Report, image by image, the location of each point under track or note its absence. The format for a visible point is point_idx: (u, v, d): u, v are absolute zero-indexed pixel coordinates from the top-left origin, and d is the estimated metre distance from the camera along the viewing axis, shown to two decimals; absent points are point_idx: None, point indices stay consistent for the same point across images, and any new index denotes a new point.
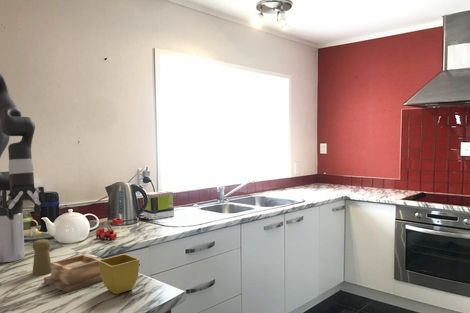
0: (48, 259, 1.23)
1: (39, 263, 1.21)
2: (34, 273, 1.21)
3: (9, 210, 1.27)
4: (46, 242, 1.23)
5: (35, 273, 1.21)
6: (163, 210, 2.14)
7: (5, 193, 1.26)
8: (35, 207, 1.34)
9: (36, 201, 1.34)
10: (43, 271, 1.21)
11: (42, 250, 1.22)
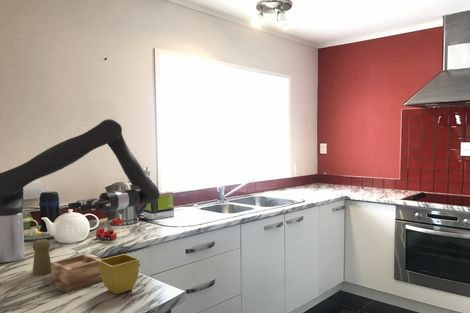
0: (48, 259, 1.23)
1: (39, 263, 1.21)
2: (34, 273, 1.21)
3: (90, 208, 1.32)
4: (46, 242, 1.23)
5: (35, 273, 1.21)
6: (163, 210, 2.14)
7: None
8: (77, 205, 1.37)
9: None
10: (43, 271, 1.21)
11: (42, 250, 1.22)
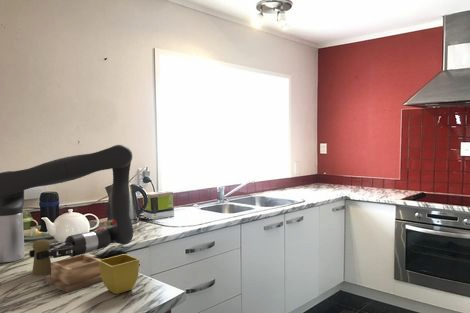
0: (48, 259, 1.23)
1: (39, 263, 1.21)
2: (34, 273, 1.21)
3: None
4: (46, 242, 1.23)
5: (35, 273, 1.21)
6: (163, 210, 2.14)
7: None
8: None
9: None
10: (43, 271, 1.21)
11: (42, 250, 1.22)
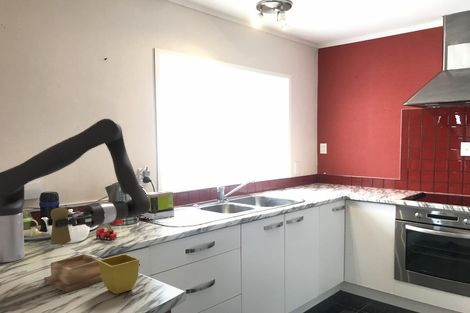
0: (67, 228, 1.19)
1: (58, 231, 1.17)
2: (53, 242, 1.17)
3: None
4: (64, 210, 1.18)
5: (54, 242, 1.17)
6: (163, 210, 2.14)
7: None
8: None
9: None
10: (62, 239, 1.17)
11: None
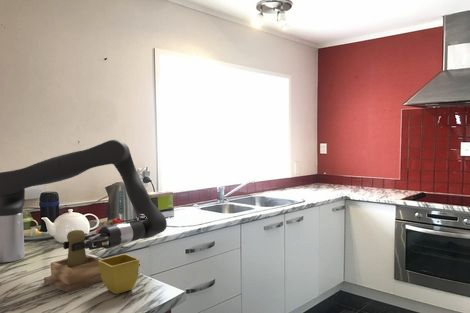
0: (83, 251, 1.15)
1: (75, 255, 1.13)
2: (69, 266, 1.13)
3: None
4: (81, 233, 1.15)
5: (70, 266, 1.13)
6: (163, 210, 2.14)
7: None
8: None
9: None
10: (78, 264, 1.13)
11: (77, 242, 1.14)
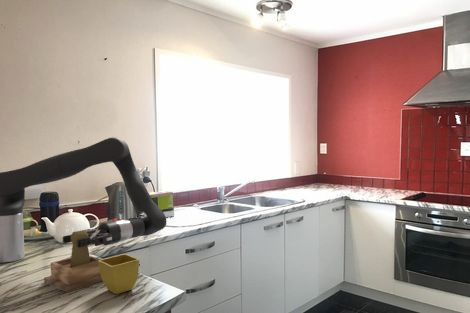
0: (87, 252, 1.15)
1: (78, 256, 1.13)
2: None
3: None
4: (85, 234, 1.14)
5: None
6: (163, 210, 2.14)
7: None
8: None
9: None
10: None
11: None
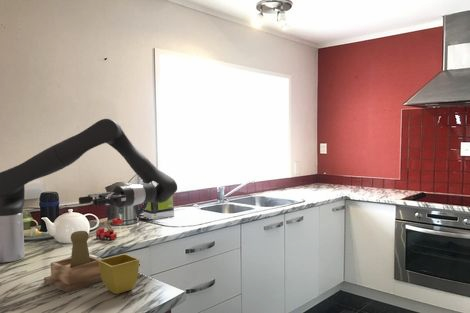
0: (87, 252, 1.15)
1: (78, 256, 1.13)
2: None
3: (104, 203, 1.17)
4: (85, 234, 1.14)
5: None
6: (163, 210, 2.14)
7: (122, 202, 1.21)
8: (88, 199, 1.23)
9: None
10: None
11: (81, 243, 1.13)
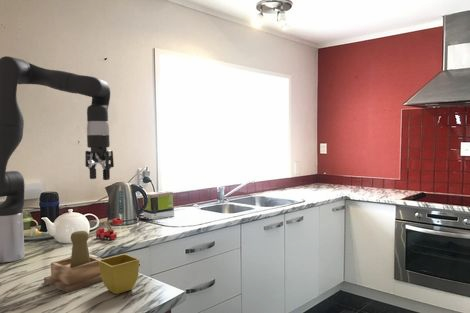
0: (87, 252, 1.15)
1: (78, 256, 1.13)
2: None
3: None
4: (85, 234, 1.14)
5: None
6: (163, 210, 2.14)
7: None
8: (93, 170, 1.35)
9: None
10: None
11: (81, 243, 1.13)
